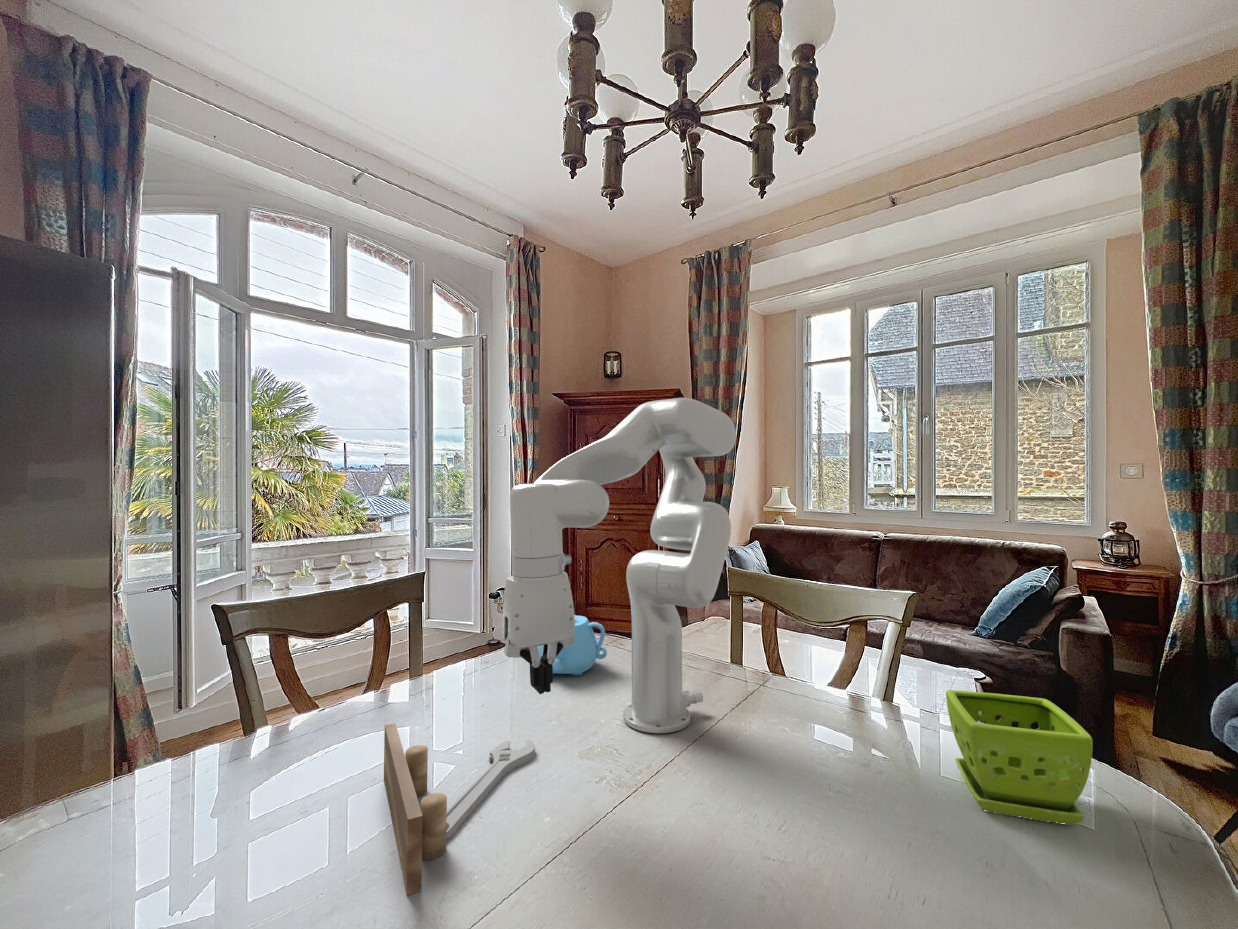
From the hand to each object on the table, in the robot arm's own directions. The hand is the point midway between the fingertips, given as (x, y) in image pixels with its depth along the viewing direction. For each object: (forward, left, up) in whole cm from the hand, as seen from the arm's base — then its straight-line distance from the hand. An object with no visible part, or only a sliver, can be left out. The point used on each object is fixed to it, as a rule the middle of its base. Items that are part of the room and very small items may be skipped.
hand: (541, 689), depth 80 cm
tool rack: (+18, 0, -14) cm, 22 cm away
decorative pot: (-23, -45, -14) cm, 52 cm away
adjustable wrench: (+8, -4, -15) cm, 17 cm away
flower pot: (-57, +35, -14) cm, 69 cm away
